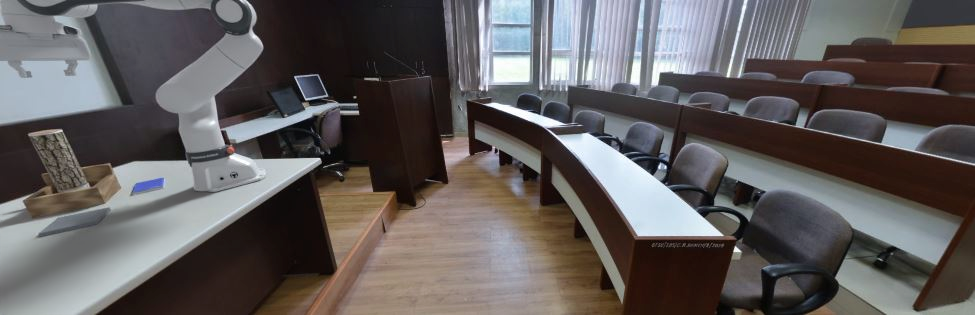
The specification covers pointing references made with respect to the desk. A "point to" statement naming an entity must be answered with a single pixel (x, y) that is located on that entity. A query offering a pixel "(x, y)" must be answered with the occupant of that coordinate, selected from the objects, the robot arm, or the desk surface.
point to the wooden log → (59, 160)
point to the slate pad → (75, 221)
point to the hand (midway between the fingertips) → (49, 76)
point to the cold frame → (74, 193)
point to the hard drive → (148, 186)
